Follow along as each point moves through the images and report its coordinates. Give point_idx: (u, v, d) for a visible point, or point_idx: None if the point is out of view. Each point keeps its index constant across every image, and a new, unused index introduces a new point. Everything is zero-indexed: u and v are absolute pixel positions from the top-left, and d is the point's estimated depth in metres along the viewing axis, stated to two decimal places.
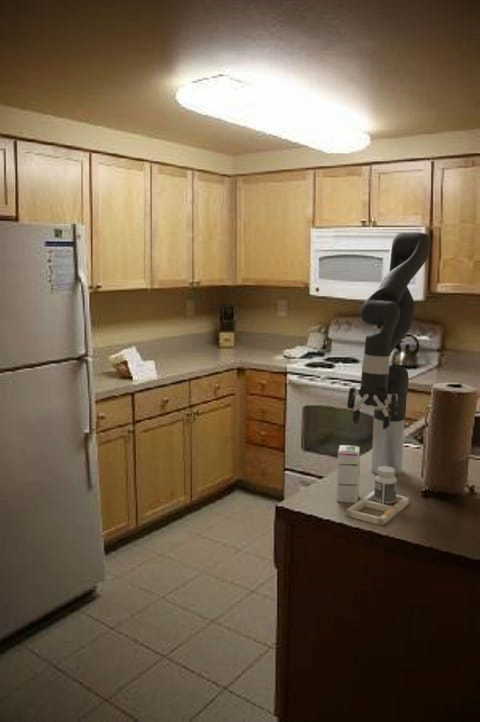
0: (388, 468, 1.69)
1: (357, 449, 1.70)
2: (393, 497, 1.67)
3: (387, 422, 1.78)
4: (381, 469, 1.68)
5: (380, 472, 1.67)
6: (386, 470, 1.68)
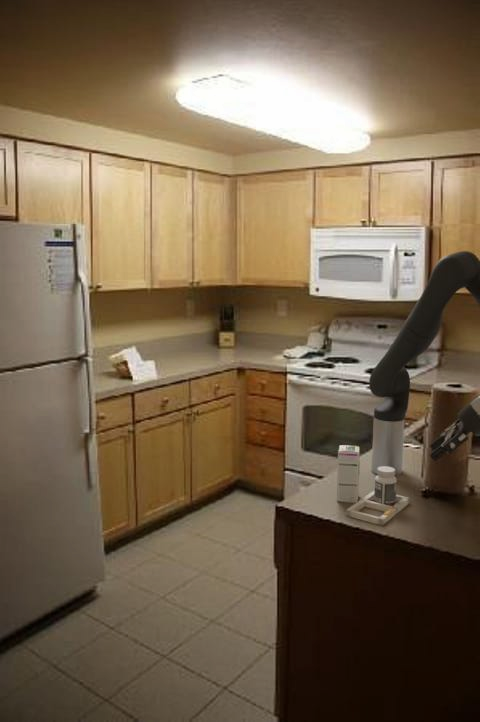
0: (388, 468, 1.69)
1: (357, 449, 1.70)
2: (393, 497, 1.67)
3: None
4: (381, 469, 1.68)
5: (380, 472, 1.67)
6: (386, 470, 1.68)
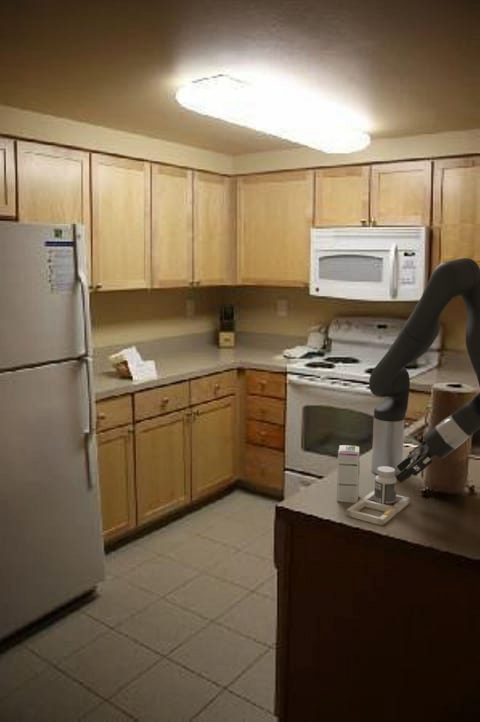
0: (388, 468, 1.69)
1: (357, 449, 1.70)
2: (393, 497, 1.67)
3: None
4: (381, 469, 1.68)
5: (380, 472, 1.67)
6: (386, 470, 1.68)
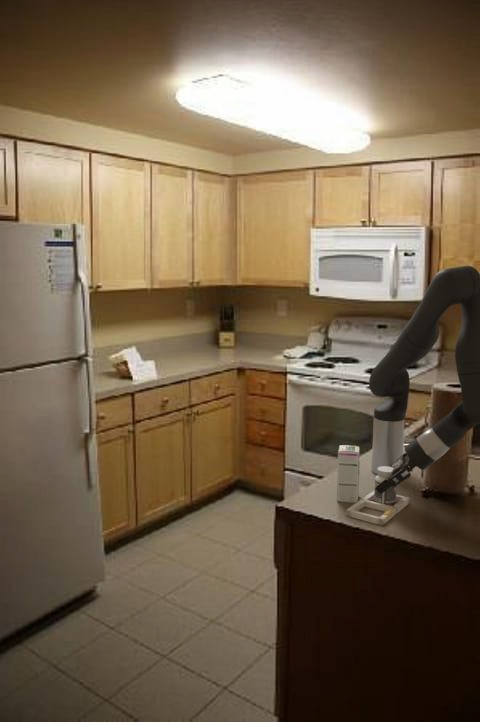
0: (388, 468, 1.69)
1: (357, 449, 1.70)
2: (393, 497, 1.67)
3: None
4: (381, 469, 1.68)
5: (380, 472, 1.67)
6: (386, 469, 1.68)
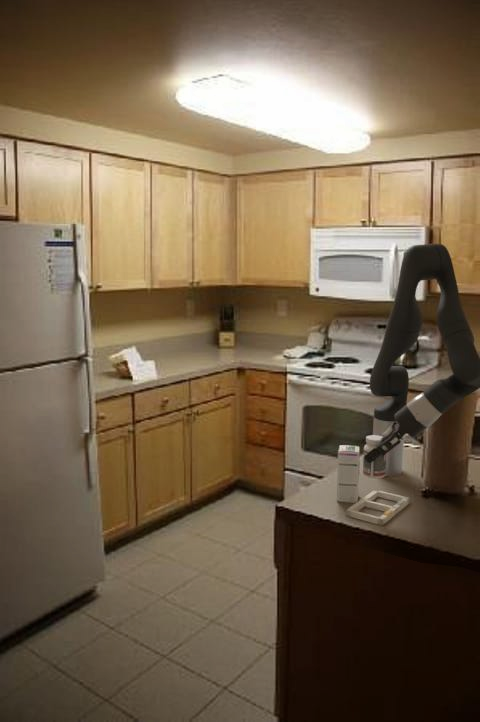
0: (378, 437, 1.60)
1: (357, 449, 1.70)
2: (383, 467, 1.59)
3: None
4: (370, 438, 1.59)
5: (369, 441, 1.58)
6: (375, 438, 1.59)
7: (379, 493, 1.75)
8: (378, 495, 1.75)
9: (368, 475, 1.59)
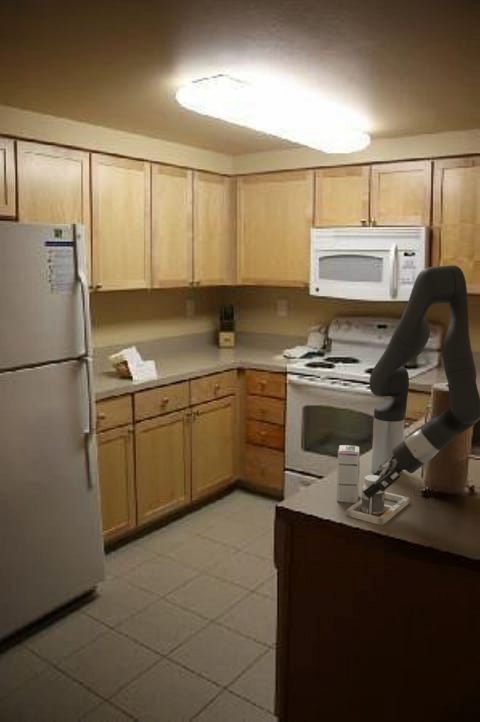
0: (376, 477, 1.62)
1: (357, 449, 1.70)
2: (381, 507, 1.60)
3: None
4: (368, 478, 1.61)
5: (367, 481, 1.60)
6: (374, 479, 1.61)
7: None
8: None
9: None
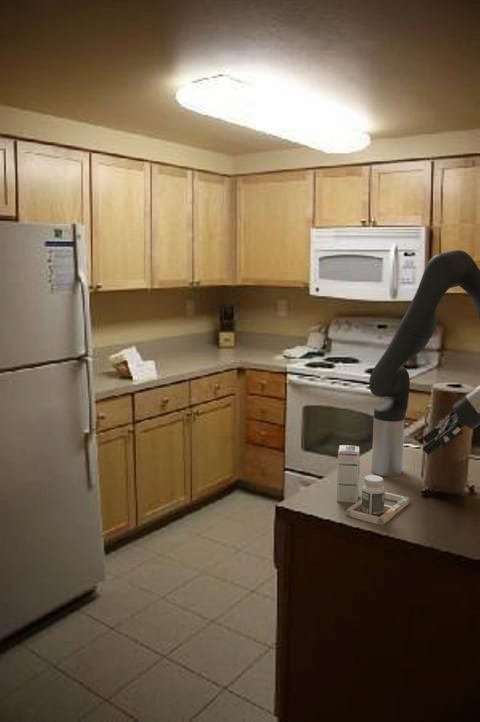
0: (376, 477, 1.62)
1: (357, 449, 1.70)
2: (381, 507, 1.60)
3: None
4: (368, 478, 1.61)
5: (367, 481, 1.60)
6: (374, 479, 1.61)
7: None
8: None
9: None
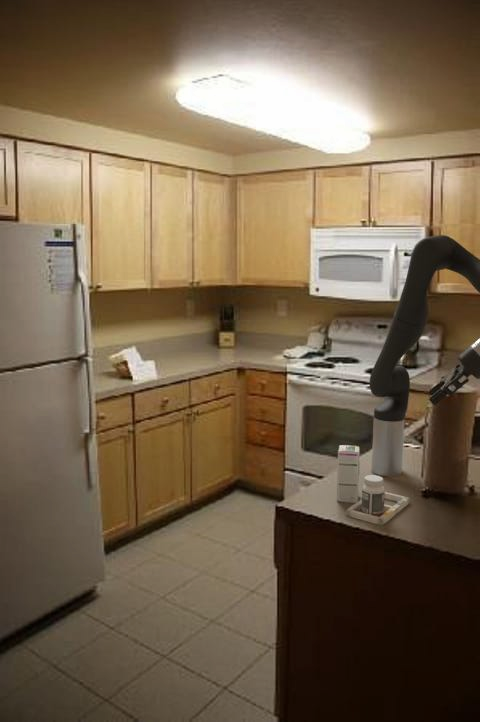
0: (376, 477, 1.62)
1: (357, 449, 1.70)
2: (381, 507, 1.60)
3: None
4: (368, 478, 1.61)
5: (367, 481, 1.60)
6: (374, 479, 1.61)
7: None
8: None
9: None
